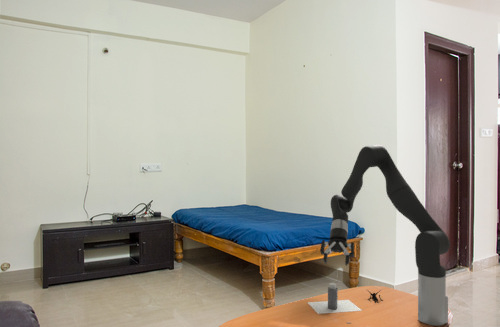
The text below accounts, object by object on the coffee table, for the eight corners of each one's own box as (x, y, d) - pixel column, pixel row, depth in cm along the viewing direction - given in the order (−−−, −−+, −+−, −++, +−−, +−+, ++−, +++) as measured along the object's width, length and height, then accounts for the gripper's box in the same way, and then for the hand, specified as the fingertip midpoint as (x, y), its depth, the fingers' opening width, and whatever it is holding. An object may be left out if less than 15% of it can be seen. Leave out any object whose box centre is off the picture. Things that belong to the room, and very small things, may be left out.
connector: (328, 304, 154) (328, 281, 154) (337, 305, 153) (338, 282, 153) (327, 309, 149) (327, 285, 149) (336, 310, 148) (336, 286, 148)
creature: (387, 309, 155) (382, 298, 163) (388, 297, 154) (383, 287, 162) (367, 308, 156) (363, 297, 164) (368, 296, 155) (364, 286, 163)
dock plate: (348, 302, 160) (348, 299, 160) (362, 313, 148) (362, 310, 148) (307, 305, 156) (307, 302, 156) (318, 316, 144) (318, 313, 144)
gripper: (322, 226, 173) (318, 257, 162) (355, 228, 168) (352, 260, 157) (323, 235, 178) (319, 266, 167) (355, 237, 173) (353, 269, 162)
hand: (335, 263), depth 162 cm, fingers open, 8 cm apart
